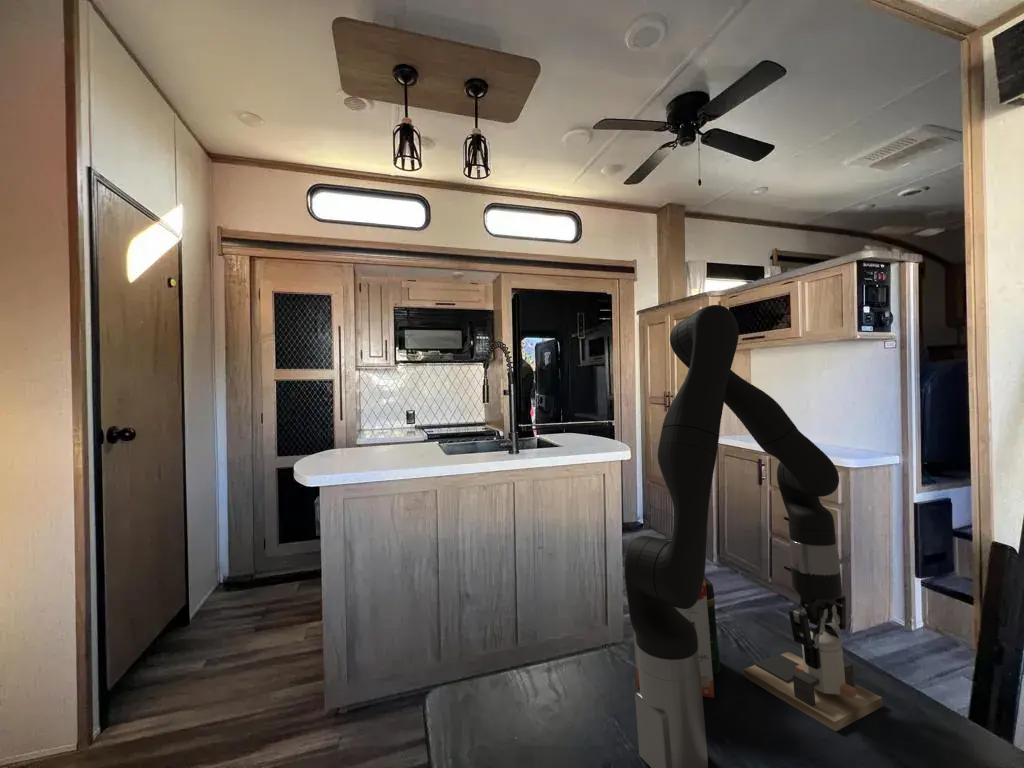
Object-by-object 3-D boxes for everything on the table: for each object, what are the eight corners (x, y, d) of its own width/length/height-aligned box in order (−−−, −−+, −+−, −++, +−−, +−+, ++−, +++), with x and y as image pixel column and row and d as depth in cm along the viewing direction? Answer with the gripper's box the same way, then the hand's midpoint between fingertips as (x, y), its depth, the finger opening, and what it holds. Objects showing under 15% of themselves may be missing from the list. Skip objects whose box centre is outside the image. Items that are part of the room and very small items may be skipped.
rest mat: (787, 683, 83) (786, 680, 83) (755, 665, 89) (755, 663, 89) (811, 672, 86) (811, 670, 86) (779, 655, 92) (779, 653, 92)
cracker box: (637, 689, 86) (628, 579, 88) (638, 671, 92) (630, 568, 93) (716, 700, 82) (706, 583, 83) (712, 681, 87) (703, 572, 89)
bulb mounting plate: (835, 731, 72) (829, 667, 73) (744, 677, 88) (739, 625, 89) (882, 706, 78) (876, 646, 78) (788, 659, 93) (784, 609, 94)
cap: (789, 677, 82) (786, 632, 83) (806, 666, 85) (802, 623, 86) (846, 703, 74) (841, 654, 75) (862, 690, 77) (857, 643, 78)
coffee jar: (726, 678, 88) (718, 582, 89) (685, 679, 89) (677, 583, 90) (709, 651, 98) (701, 565, 99) (672, 652, 98) (665, 566, 99)
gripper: (815, 552, 88) (822, 640, 87) (770, 567, 81) (778, 663, 80) (859, 563, 81) (868, 658, 80) (814, 581, 74) (823, 685, 73)
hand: (822, 660), depth 80 cm, fingers closed on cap, 5 cm apart
